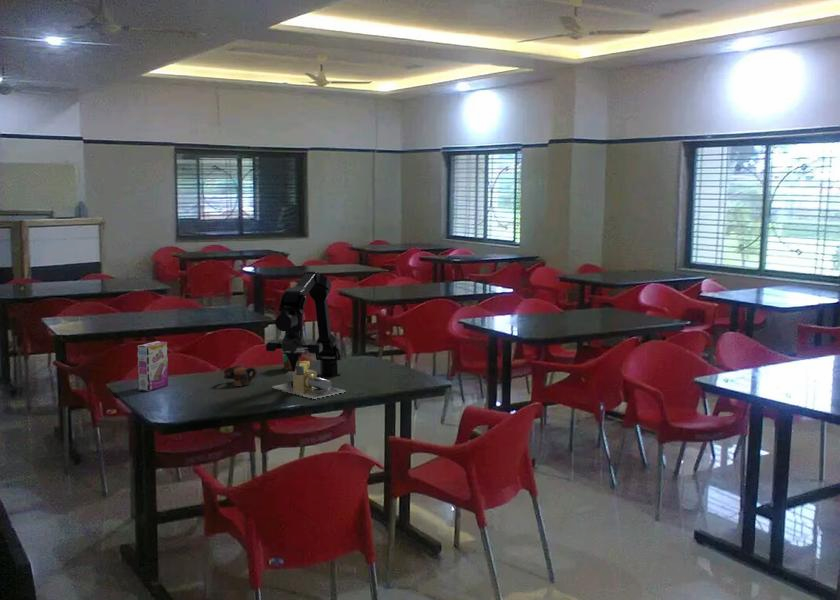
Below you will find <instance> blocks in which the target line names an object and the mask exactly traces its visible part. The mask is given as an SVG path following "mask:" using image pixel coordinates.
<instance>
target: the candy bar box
mask: <svg viewBox="0 0 840 600" xmlns="http://www.w3.org/2000/svg"><path fill="white" fill-rule="evenodd" d="M136 348H137V350H136V351H137V379H138V380H137V381H138V391H142V392H148V391H149V392H151V390H152V391H155V390H158V389H161V388H164V387H166V385H167V386H168V385H169V367H168V365H169V363H168V362H169V361H168V360H169V359H168V342H167V341H152V342H149V343H144V344H140V345H137V347H136ZM163 386H164V387H163ZM160 387H161V388H160ZM157 388H158V389H157ZM154 389H155V390H154Z"/></svg>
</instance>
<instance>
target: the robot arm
mask: <svg viewBox="0 0 840 600" xmlns="http://www.w3.org/2000/svg"><path fill="white" fill-rule="evenodd" d="M331 288H332V281H331V280H330V278H328V277H327V276H325V275H322V274H321V273H320V272H318V271H316V270H315V271H313V270H312V271H311V270H310V271H309V270H308V271H305V272H304V274H303V276H302V277H301V278H300V280H299V281H297V283H296V285H295V286H293V287H290V288H289V287H288V288H287V289H286V290H284V292H283V294H282V296H281V298H280V299H281V300H280V303H279V306H278V312H280V314H278V316H277V317H276V319H275V321H274V322H275V323H274V324H275V327H276V329H277V330H278V331H281V332H284V337H283V338H282V340H274V339H273V340H269V341H267V343H266V344H265V351H267V352H275V351H276V350H278V349H280V350H281V349H282V351H281V352H282V355H283V354H286V356H287V357H288V359H289V361H290V363H291V366H292V369H293V371H292V372H295V371H296V370H295V369H296V366H297V364H298V361H299V359H300V360H301V357H302V355H304V354H305V353H306V351H307V352H308V353H309V354H314V355H315V359H316V361H320V362H319V363H320V364H319V365H320V372H319V373H317V376H320V377H324V378H332V377H336V375H337V376H340V375H341V373H340V372H338V370H339V369H338V361H341V360H342V353H341V349H340V347H339V345H338V342H337V339H336V338H335V336H334V335H333V334H332V329H331V320H330V310H329V305H328V303H329V302H328V297H329V296H330V294H331V290H332V289H331ZM308 294H309V297H310V298H311V299H312V300H313V302H314V308H315V309H314V310H315V317H316V323H317V332H318V338H317V340H316V341H315V342H309V344H304V313H305V307H306V304H307V301H308V300H307V299H308V298H307V295H308ZM295 351H296V352H295ZM331 376H332V377H331Z"/></svg>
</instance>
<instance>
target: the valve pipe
mask: <svg viewBox="0 0 840 600" xmlns="http://www.w3.org/2000/svg"><path fill="white" fill-rule="evenodd" d="M285 380H286V381H288V382H286V383H282V384H276V385H272V388H274V389H273V390H276V389H277V390H276V391H280V390H281V391H280V392H283V393H287V392H288V394H291V393H292V395H295V394H296V396H298V395H299V397H302V396H303V398H306V397H307V398H306V399H310V398H312V399H311V400H313V399H316V400H318V399H317V398H320V399H323V398H322V397H324V398H327V397H326V396H329V397H331V395H333V396H336V395H335V394H337V395H340V394H339V393H342V394H345V393H344V392H346V389H341V388H338V387H337V388H336V387H334V386H333V382H332V381H331V380H330V379H329V380H328V379H325V378H321V377H318V373H317V370H313V369H309V368H307V370H306V371H305V373H304V375H296V370H295V372H293V371H287V372H286V374H285Z"/></svg>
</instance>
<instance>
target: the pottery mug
mask: <svg viewBox="0 0 840 600" xmlns="http://www.w3.org/2000/svg"><path fill="white" fill-rule="evenodd" d="M251 372H252V374H251ZM257 373H258V371H257V369H256V368H255V367H251V366H250V367H248V368H245V367H244V365H242V364H237V365H234V366H231V367H229V368H226V369H225V370H224V371H223V374H224V375H223V379H225V380H234V385H235V387H236V386H240V387H243V386H250V385H249V384H250V383H251V382H252V381H253V379H255V378H256V376H257ZM250 374H251V375H250Z"/></svg>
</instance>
